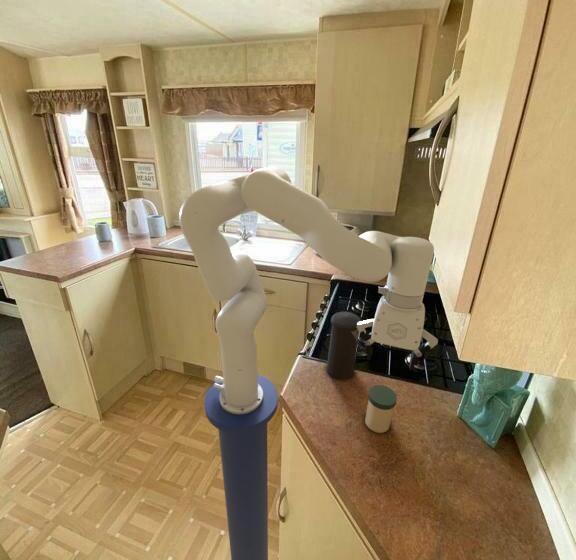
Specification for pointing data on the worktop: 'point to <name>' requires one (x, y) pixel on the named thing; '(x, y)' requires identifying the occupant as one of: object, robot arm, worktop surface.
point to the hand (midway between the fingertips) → (389, 361)
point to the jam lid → (382, 397)
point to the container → (343, 345)
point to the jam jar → (378, 418)
